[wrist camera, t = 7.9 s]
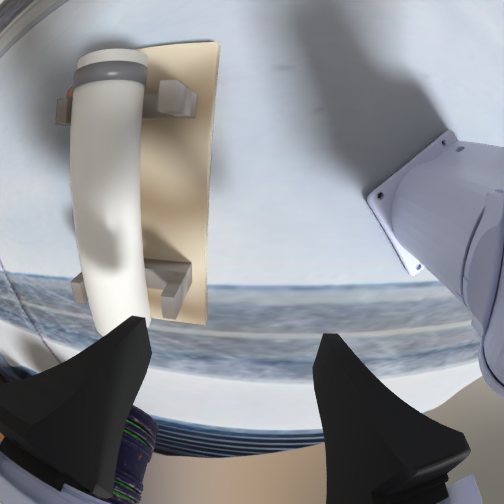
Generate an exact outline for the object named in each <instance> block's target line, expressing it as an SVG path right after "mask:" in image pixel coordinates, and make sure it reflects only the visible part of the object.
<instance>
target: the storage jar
mask: <svg viewBox="0 0 504 504" xmlns="http://www.w3.org/2000/svg"><path fill="white" fill-rule="evenodd" d="M157 433H158V425H157V423H156V422H155V421H154V420H153V419H152V418H151V417H150V416H149V415H148V414H147V413H145V412H144V411H142V410H140V409H139V408H137V407H135V406H133V405H132V407H131V410H130V412H129V415H128V418H127V420H126V424H125V427H124V431H123V435H122V439H121V443H120V448H119V453H118V458H117V464H116V471H115V479H114V490H113V497H111V498H108V499H105V498H102V497H100V496H97V495H95V494H89V493H87V492H85V491H84V493H86V494H88V495H90V496H93V497H95V498H97V499H100V500H102V501H105V502H107V503H110V504H139V503H140V500H141V496H140V495H141V493H142V491H143V484H142V481H143V477H144V473H145V470H146V466H147V463H148V462H150V459H151V456H152V452H153V451H154V447H155V440H156V435H157Z"/></svg>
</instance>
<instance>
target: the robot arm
mask: <svg viewBox="0 0 504 504" xmlns="http://www.w3.org/2000/svg"><path fill="white" fill-rule="evenodd" d="M442 140H443V142H444V145H442ZM380 192H381V193H382V196H381V198H379V199H378V197H377V195H378V193H380ZM367 202H368V204H369V206H370V207H371V209H372V210H373V212H374V214H375V215H376V217H377V218H378V220H379V222H380V223H381V225H382V227H383V228H384V230H385V232H386V234H387V235H388V237H389V239H390V241H391V242H392V244H393V246H394V248H395V250H396V251H397V253H398V255H399V257H400V259H401V261H402V263H403V264H404V266H405V268H406V270H407V272H408V274H409V275H410V276H415V275H416V274H418V273H419V272H420V271H421V270H422V269H424V268H425V267H426V268H427V269H428V270H429V271H430V272H431V273H432V274H433V275H434V276H435V277H436V278H437V279H438V280H440V281H441V282H442V283H443V284H444V285H445V286H446V287H447V288H448V289H449V290H450V291H451V292H452V293H453V294H454V295H455V296H456V297H457V298H458V299H459V300H460V301H461V302H462V303H463V304H464V305H465V306H466V307H467V308H468V310H469V311H470V312H471V314H472V324H471V325H472V326H473V327H474V329H475V330H476V331H477V332H478V333H479V335H480V336H481V337H482V340H481V343H480V347H479V366H480V369H481V372H482V375H483V377H484V379H485V381H486V382H487V384H488V385H489V387H490V388H491V389H492V390H493V391H494V392H495V393H496V394H497V395H499V396H500V397H501V398H503V399H504V147H499V146H493V145H487V144H480V143H473V142H465V141H458V140H457V138H456V136H455V134H454V132H453V131H451V130H447V131H445V132H444V133H443V134H442V135H441V136H440V137H438V138H437V139H436V140H435V141H434V142H432V143H431V144H430V145H429V146H428V147H426V148H425V149H424V150H423V151H422V152H420V153H419V154H418V155H417V156H415V157H414V158H413V159H412V160H411V161H409V162H408V163H407V164H406V165H405V166H403V167H402V168H401V169H400V170H398V171H397V172H396V173H395V174H393V175H392V176H391V177H390V178H388V179H387V180H386V181H385V182H383V183H382V184H381V185H380V186H378V187H377V188H376V189H375V190H373V191H372V192H371V193H370V194H369V195H368V197H367ZM418 264H419V266H418V267H417V265H418ZM416 267H417V268H416ZM151 355H152V351H151V346H150V341H149V336H148V331H147V325H146V319H145V317H139V316H133V315H132V316H131V317H129V318H128V319H126V320H125V321H124V322H122V323H121V324H120V325H118V326H117V327H116V328H114V329H113V330H112V331H110V332H109V333H108V334H106V335H105V336H104V337H102V338H101V339H100V340H98V341H97V342H95V343H94V344H92V345H91V346H89V347H88V348H86V349H85V350H83V351H82V352H80V353H79V354H77V355H76V356H74V357H72V358H71V359H69V360H67V361H65V362H63V363H61V364H59V365H57V366H55V367H53V368H51V369H48V370H46V371H44V372H41V373H39V374H36V375H34V376H31V377H28V378H24V379H21V380H17V381H14V382H9V383H4V384H0V432H1V433H2V435H3V436H4V438H3V440H1V439H0V503H1V504H110V503H107V502H105V501H102V500H100V499H97V498H95V497H93V496H90V495H88V494H86V493H84V491H85V492H87V493H89V494H95V495H97V496H100V497H102V498H105V499H108V498H111V497H113V490H114V479H115V471H116V464H117V458H118V453H119V448H120V443H121V439H122V435H123V431H124V427H125V424H126V420H127V418H128V415H129V412H130V410H131V407H132V405H133V403H134V400H135V398H136V396H137V393H138V391H139V389H140V387H141V384H142V382H143V380H144V377H145V375H146V372H147V369H148V366H149V362H150V359H151ZM313 380H314V390H315V395H316V399H317V404H318V409H319V413H320V418H321V423H322V427H323V432H324V439H325V448H326V466H327V499H326V504H483V502H482V499H481V495H480V492H479V489H478V487H477V484H476V481H475V478H474V476H473V474H470V475H469V476H467V477H465V478H463V479H461V480H459V481H457V482H456V483H454V484H452V485H450V486H448V487H447V488H446V485H445V482H447V481H448V475H447V473H448V472H449V471H450V470H452V469H453V468H454V467H456V466H457V465H458V464H459V463H461V462H462V461H463V460H464V459H465V458H466V457H467V456H468V455H469V453H470V451H471V450H470V447H469V445H468V443H467V441H466V439H465V436H464V434H463V433H462V432H459V431H456V430H454V429H451V428H449V427H446V426H444V425H442V424H440V423H438V422H436V421H434V420H432V419H430V418H428V417H427V416H425V415H423V414H422V413H420V412H419V411H417V410H416V409H414V408H413V407H411V406H410V405H408V404H407V403H405V402H404V401H403V400H401V399H400V398H399V397H398V396H396V395H395V394H394V393H393V392H392V391H390V390H389V389H388V388H387V387H386V386H385V385H384V384H383V383H382V382H381V381H380V380H379V379H378V378H376V377H375V376H374V375H373V374H372V372H371V371H370V370H369V369H368V368H367V367H366V366H365V365H364V364H363V363H362V362H361V361H360V359H359V358H358V357H357V356H356V355H355V354H354V352H353V351H352V350H351V349H350V348H349V347H348V345H347V344H346V343H345V342H344V341H343V339H342V338H341V337H340V336H339V335H338V334H327V333H323V336H322V339H321V343H320V346H319V349H318V353H317V356H316V359H315V362H314V365H313Z"/></svg>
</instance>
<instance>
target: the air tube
mask: <svg viewBox="0 0 504 504" xmlns="http://www.w3.org/2000/svg"><path fill="white" fill-rule="evenodd" d="M147 64H148V56H147V55H146V54H145V53H143V52H140V51H136V50H131V49H104V50H99V51H94V52H91V53H88V54H86V55H84V56H82V57H81V58H80V59H79V60H78V64H77V70H76V71H75V74H74V81H73V89H72V91H73V101H72V113H71V130H70V177H71V195H72V207H73V217H74V226H75V234H76V241H77V247H78V253H79V259H80V265H81V270H82V275H83V280H84V284H85V289H86V293H87V297H88V301H89V305H90V309H91V313H92V316H93V320H94V323H95V327H96V329H97V331H98V332H99V333H100V334H101V335H102V336H105V335H106V334H108V333H109V332H110V331H112V330H113V329H114V328H116V327H117V326H118V325H120V324H121V323H122V322H124V321H125V320H126V319H128V318H129V317H131V316H132V315H133V316H139V317H145V319H146V325H147V328H148V326H149V325H150V322H151V315H150V308H149V301H148V294H147V285H146V277H145V267H144V256H143V244H142V228H141V206H140V147H141V126H142V111H143V99H144V89H145V87H146V84H147V75H148V67H147Z"/></svg>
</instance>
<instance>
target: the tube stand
mask: <svg viewBox="0 0 504 504" xmlns="http://www.w3.org/2000/svg"><path fill="white" fill-rule="evenodd" d="M136 51H140V52H143V53H145V54H146V55H147V56H148V64H147V67H148V75H147V84H146V87H145V89H144V99H143V111H142V126H141V147H140V206H141V228H142V244H143V256H144V267H145V277H146V285H147V294H148V301H149V308H150V315H151V318H157V319H163V320H170V321H178V322H185V323H193V324H202V325H205V324H206V320H207V245H208V208H209V184H210V164H211V147H212V132H213V119H214V107H215V95H216V85H217V75H218V65H219V56H220V45H219V42H200V43H184V44H172V45H163V46H155V47H148V48H142V49H136ZM72 89H73V87H71V88H70V89H69V91H68V93H67V97H66V98H62V99H58V100H57V110H56V125H71V113H72V101H73V91H72ZM70 283H71V287H72V291H73V295H74V299H75V302H78V303H82V304H85V303H86V302H87V301H88V297H87V293H86V289H85V284H84V280H83V275H82V272H81V273H80V274H79V275H77V276H76V277H75V278H74V279H73V280H72V281H71V282H70Z"/></svg>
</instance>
